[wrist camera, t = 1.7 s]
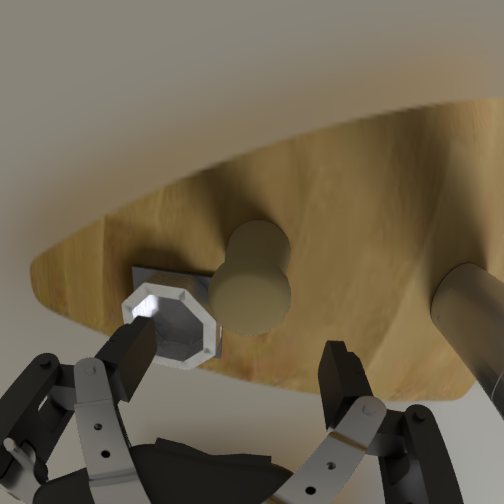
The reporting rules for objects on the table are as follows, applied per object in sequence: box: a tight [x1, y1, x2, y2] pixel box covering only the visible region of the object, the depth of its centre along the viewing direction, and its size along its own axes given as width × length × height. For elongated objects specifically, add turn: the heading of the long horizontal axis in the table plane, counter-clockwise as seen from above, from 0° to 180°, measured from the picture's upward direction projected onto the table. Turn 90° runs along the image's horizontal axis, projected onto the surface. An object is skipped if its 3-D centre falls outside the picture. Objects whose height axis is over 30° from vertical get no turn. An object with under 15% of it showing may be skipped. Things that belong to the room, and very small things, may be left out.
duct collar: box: [122, 265, 222, 370], centre depth 27 cm, size 10×10×4 cm
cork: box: [208, 220, 291, 336], centre depth 21 cm, size 6×6×11 cm
